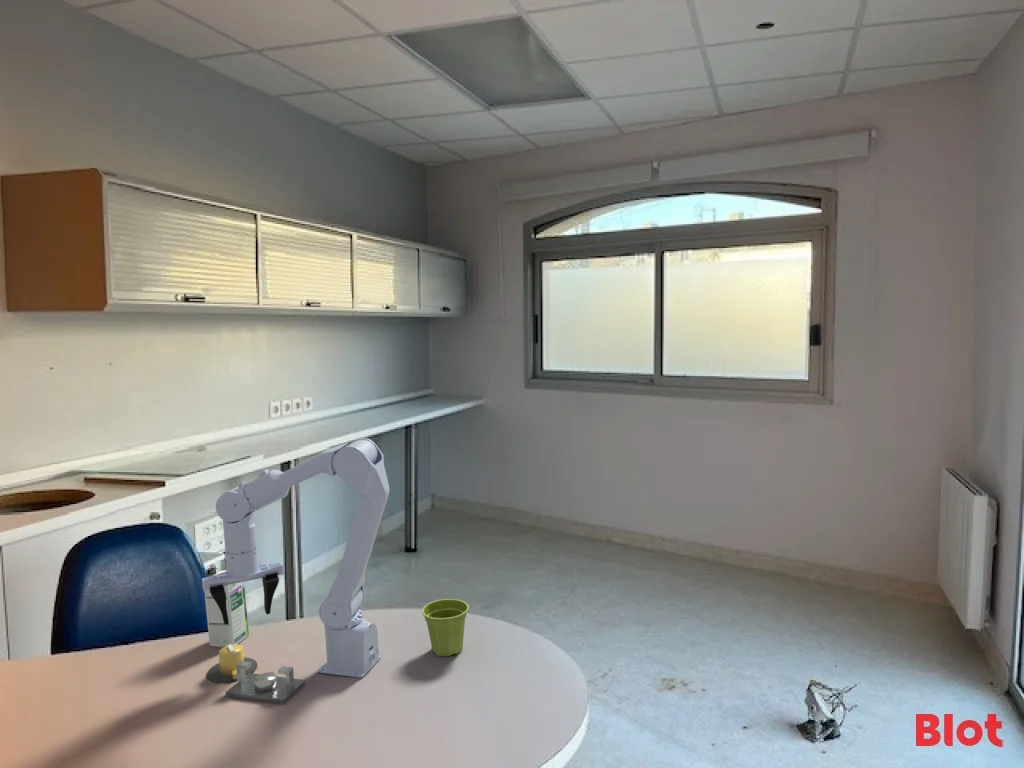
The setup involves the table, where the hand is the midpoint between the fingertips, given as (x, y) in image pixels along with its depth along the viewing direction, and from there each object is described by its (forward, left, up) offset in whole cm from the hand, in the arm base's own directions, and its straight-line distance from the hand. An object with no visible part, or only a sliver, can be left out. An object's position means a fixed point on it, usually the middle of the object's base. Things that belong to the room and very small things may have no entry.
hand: (247, 617), depth 133 cm
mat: (+2, +3, -10) cm, 10 cm away
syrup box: (+11, -8, -10) cm, 17 cm away
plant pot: (-36, -14, -10) cm, 40 cm away
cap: (+2, +3, -10) cm, 10 cm away
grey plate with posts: (-9, +7, -10) cm, 15 cm away
